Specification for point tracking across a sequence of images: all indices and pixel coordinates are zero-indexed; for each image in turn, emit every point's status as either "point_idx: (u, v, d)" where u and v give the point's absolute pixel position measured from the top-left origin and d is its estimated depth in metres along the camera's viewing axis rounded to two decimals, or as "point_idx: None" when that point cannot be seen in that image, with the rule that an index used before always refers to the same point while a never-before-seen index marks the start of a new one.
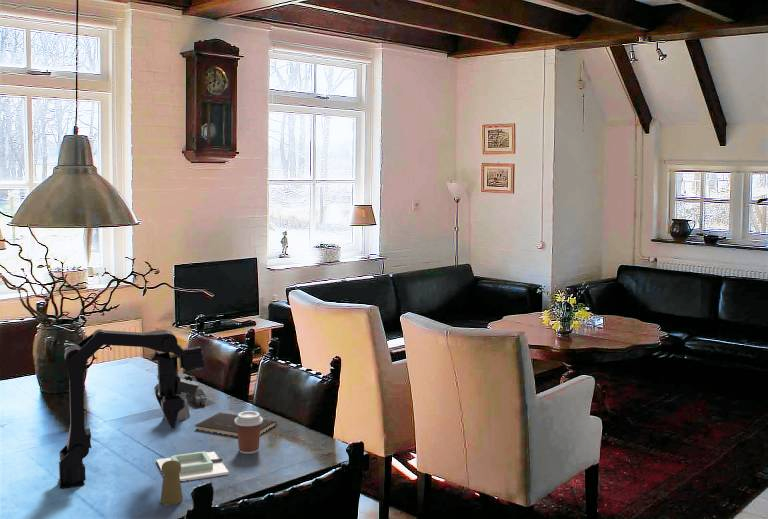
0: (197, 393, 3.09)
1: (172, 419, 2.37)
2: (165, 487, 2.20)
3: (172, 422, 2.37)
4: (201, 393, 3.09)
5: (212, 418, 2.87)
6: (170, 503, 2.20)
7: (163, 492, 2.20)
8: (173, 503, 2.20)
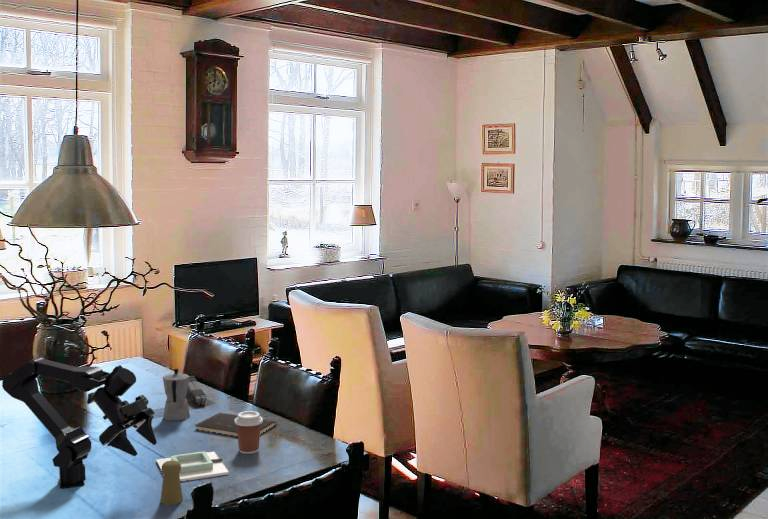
0: (197, 393, 3.09)
1: (126, 448, 2.19)
2: (165, 487, 2.20)
3: (129, 450, 2.19)
4: (201, 393, 3.09)
5: (212, 417, 2.87)
6: (170, 503, 2.20)
7: (163, 492, 2.20)
8: (173, 503, 2.20)
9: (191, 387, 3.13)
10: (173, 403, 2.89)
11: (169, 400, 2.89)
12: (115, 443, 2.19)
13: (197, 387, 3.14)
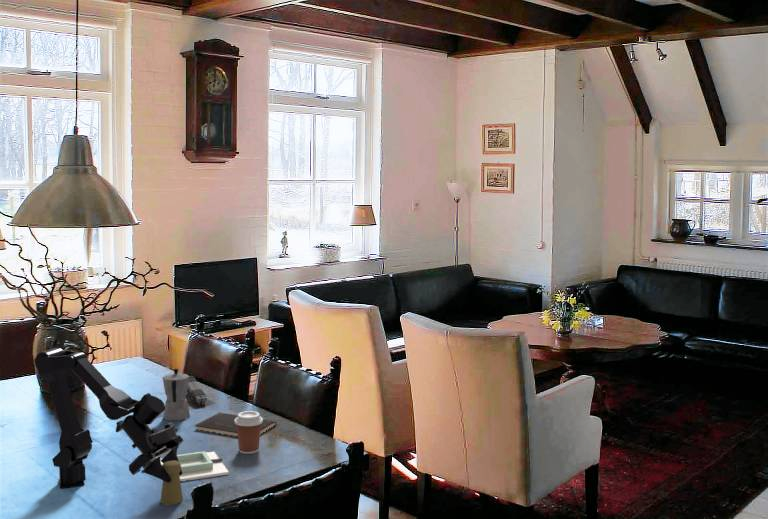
0: (197, 393, 3.09)
1: (160, 474, 2.18)
2: (165, 487, 2.20)
3: (163, 477, 2.19)
4: (201, 393, 3.09)
5: (211, 418, 2.87)
6: (170, 503, 2.20)
7: (163, 492, 2.20)
8: (173, 503, 2.20)
9: (191, 387, 3.13)
10: (173, 403, 2.89)
11: (169, 400, 2.89)
12: (149, 470, 2.19)
13: (197, 387, 3.14)
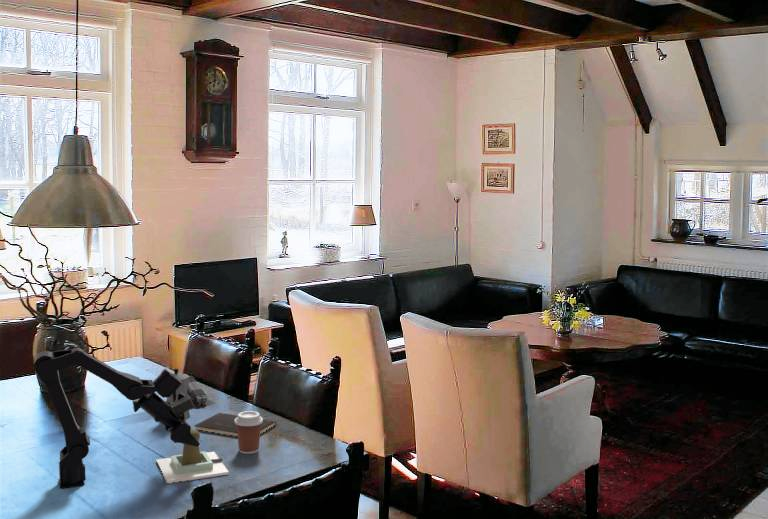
0: (198, 393, 3.09)
1: (191, 440, 2.39)
2: (191, 454, 2.43)
3: (193, 442, 2.40)
4: (202, 393, 3.09)
5: (211, 418, 2.87)
6: None
7: (189, 458, 2.43)
8: None
9: (191, 387, 3.13)
10: None
11: (169, 400, 2.89)
12: (181, 439, 2.37)
13: (197, 387, 3.13)
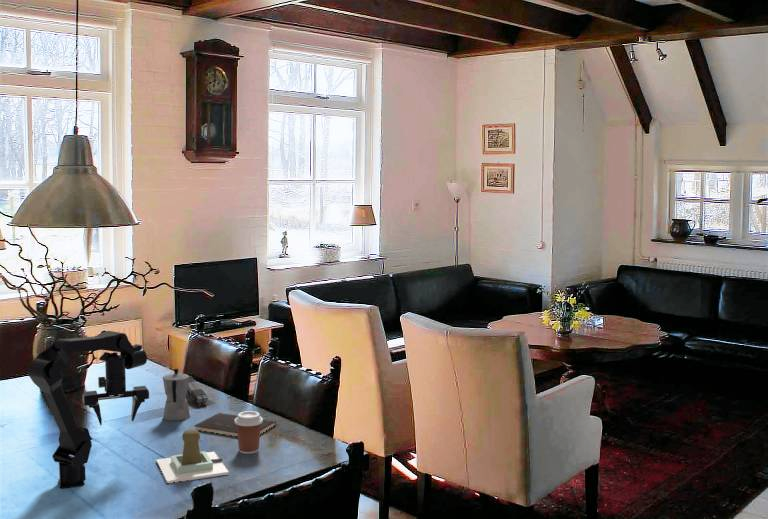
0: (198, 393, 3.09)
1: None
2: (191, 454, 2.43)
3: None
4: (202, 393, 3.09)
5: (211, 418, 2.87)
6: None
7: (189, 459, 2.43)
8: None
9: (191, 387, 3.13)
10: (173, 403, 2.89)
11: (169, 400, 2.89)
12: None
13: (197, 387, 3.13)
